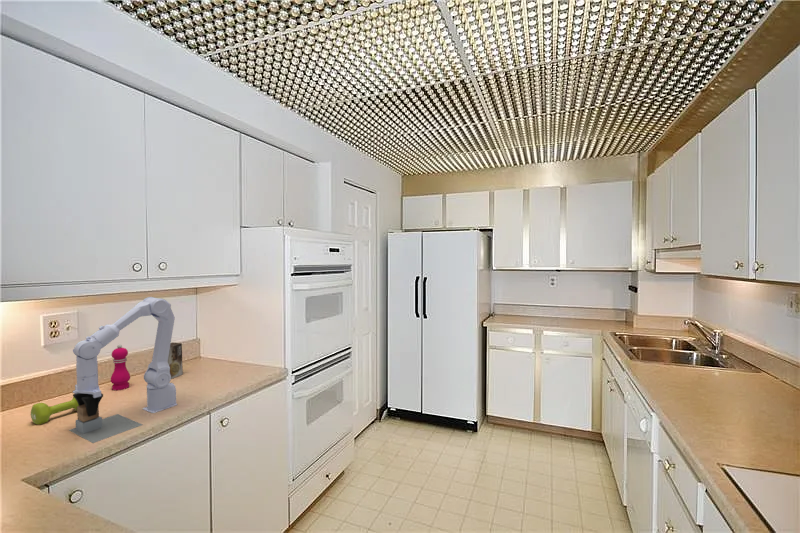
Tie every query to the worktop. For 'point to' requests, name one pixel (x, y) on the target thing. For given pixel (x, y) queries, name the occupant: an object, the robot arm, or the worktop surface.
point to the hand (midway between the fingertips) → (88, 413)
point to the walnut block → (85, 413)
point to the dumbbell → (50, 410)
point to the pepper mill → (120, 369)
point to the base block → (89, 425)
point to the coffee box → (175, 359)
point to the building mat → (109, 428)
